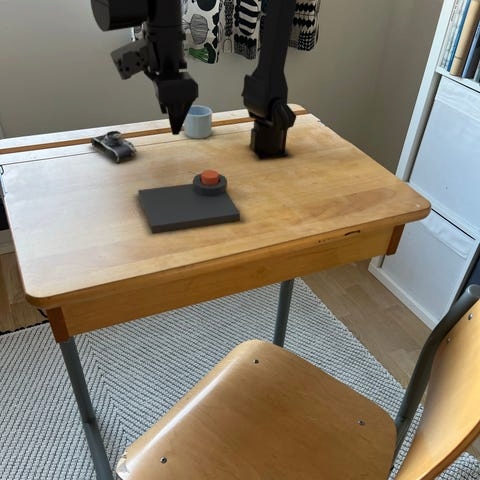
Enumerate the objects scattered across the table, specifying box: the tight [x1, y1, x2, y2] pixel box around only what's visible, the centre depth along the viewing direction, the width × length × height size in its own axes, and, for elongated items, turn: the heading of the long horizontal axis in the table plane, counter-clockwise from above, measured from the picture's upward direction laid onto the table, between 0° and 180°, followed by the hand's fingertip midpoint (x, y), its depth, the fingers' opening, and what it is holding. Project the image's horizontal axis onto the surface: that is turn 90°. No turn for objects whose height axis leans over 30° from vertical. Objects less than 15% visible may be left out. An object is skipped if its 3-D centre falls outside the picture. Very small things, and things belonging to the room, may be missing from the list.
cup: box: [183, 105, 213, 140], centre depth 111 cm, size 6×6×5 cm
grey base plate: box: [137, 172, 241, 234], centre depth 88 cm, size 16×12×3 cm
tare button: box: [201, 169, 220, 185], centre depth 90 cm, size 3×3×2 cm
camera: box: [90, 130, 138, 163], centre depth 102 cm, size 5×10×4 cm, turn 41°
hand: (170, 123), depth 89 cm, fingers open, 9 cm apart
